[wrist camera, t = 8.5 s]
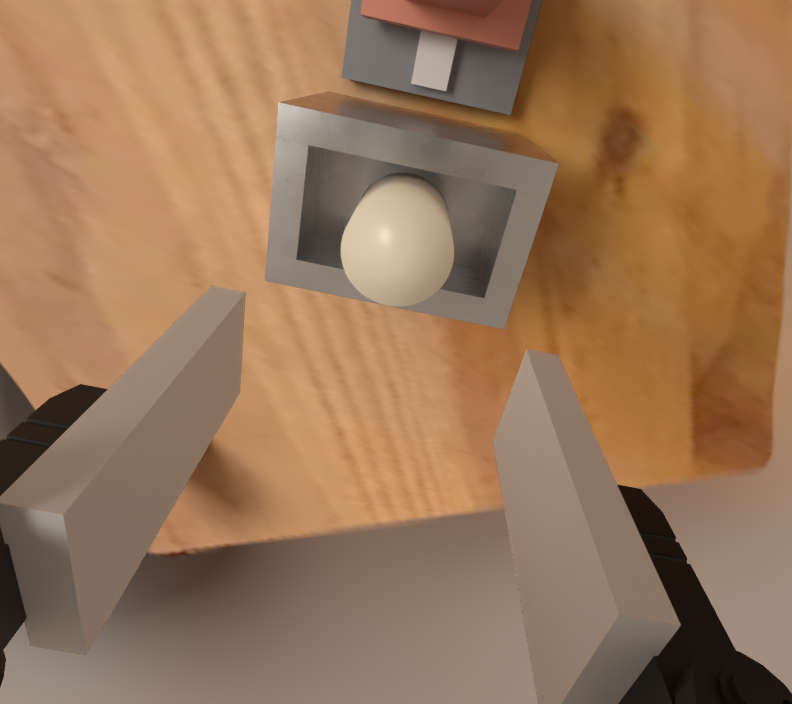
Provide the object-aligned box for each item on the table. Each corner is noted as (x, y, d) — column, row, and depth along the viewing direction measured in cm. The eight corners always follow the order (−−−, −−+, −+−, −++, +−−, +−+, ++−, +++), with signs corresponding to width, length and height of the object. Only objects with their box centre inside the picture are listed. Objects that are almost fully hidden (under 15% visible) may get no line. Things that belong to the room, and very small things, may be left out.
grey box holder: (328, 91, 32) (278, 102, 21) (526, 135, 32) (573, 167, 22) (313, 218, 36) (265, 281, 25) (491, 256, 36) (516, 331, 26)
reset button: (364, 163, 23) (349, 184, 19) (459, 183, 23) (467, 209, 19) (350, 255, 25) (333, 294, 21) (437, 273, 26) (439, 316, 21)
